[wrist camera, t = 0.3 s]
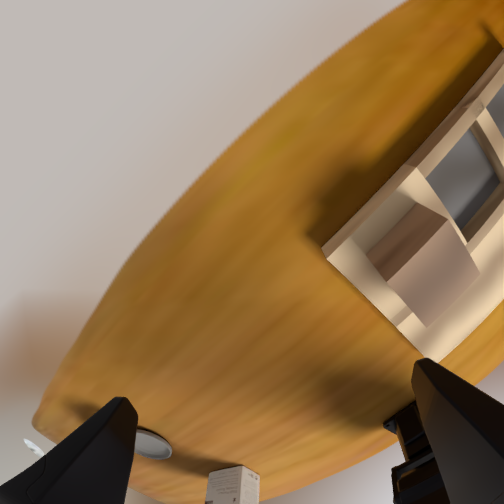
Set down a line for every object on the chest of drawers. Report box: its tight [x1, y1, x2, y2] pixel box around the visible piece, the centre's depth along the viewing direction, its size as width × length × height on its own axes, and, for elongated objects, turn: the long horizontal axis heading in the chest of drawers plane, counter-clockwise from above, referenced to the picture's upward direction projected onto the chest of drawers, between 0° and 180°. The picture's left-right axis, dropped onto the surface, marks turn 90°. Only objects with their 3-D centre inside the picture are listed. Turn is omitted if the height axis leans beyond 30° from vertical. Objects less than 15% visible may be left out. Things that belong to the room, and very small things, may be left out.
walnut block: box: [366, 202, 480, 328], centre depth 17 cm, size 5×5×4 cm
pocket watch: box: [134, 429, 172, 459], centre depth 27 cm, size 8×8×10 cm
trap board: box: [322, 49, 504, 363], centre depth 18 cm, size 16×25×4 cm, turn 138°
